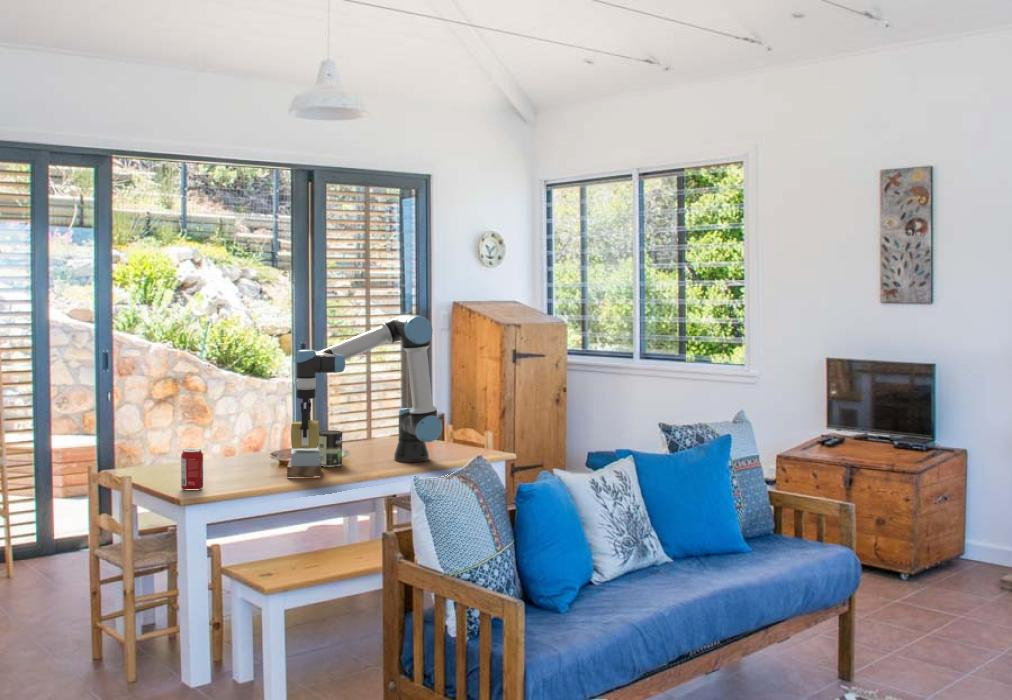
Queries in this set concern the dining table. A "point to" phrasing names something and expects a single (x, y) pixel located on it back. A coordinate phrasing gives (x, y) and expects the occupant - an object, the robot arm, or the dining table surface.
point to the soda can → (192, 469)
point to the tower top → (305, 457)
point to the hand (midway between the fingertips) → (305, 443)
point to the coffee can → (330, 448)
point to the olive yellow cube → (297, 434)
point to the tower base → (303, 470)
